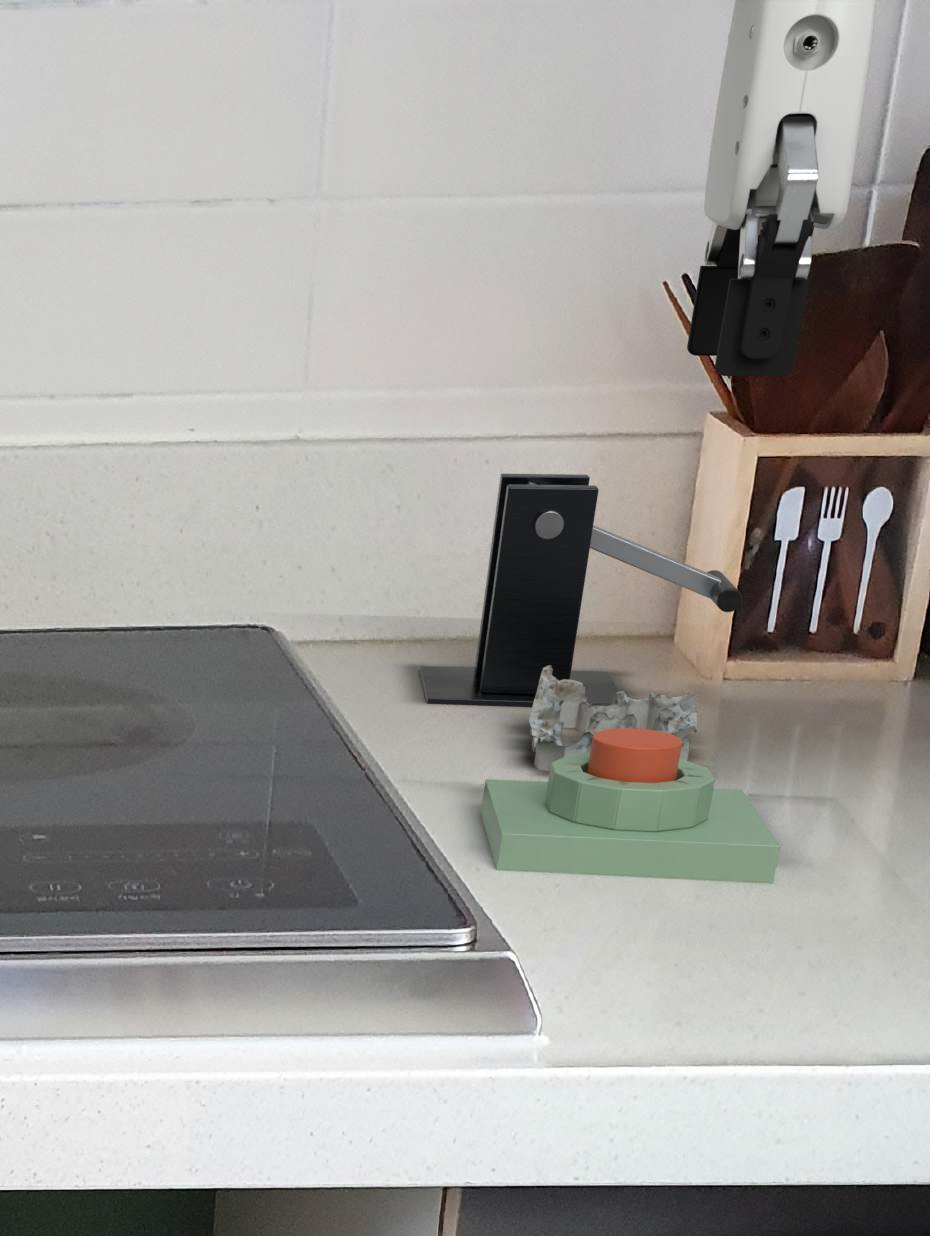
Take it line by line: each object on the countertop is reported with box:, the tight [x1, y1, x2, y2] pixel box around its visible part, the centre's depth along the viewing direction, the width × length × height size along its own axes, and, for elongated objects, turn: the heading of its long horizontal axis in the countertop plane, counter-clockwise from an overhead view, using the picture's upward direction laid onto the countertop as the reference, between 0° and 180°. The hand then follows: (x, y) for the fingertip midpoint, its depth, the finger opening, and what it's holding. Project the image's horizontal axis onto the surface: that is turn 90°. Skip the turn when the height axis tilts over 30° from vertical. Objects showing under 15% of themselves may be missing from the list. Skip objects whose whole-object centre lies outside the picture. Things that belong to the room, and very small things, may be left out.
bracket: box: [419, 473, 620, 708], centre depth 121 cm, size 10×8×12 cm
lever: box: [527, 482, 743, 613], centre depth 119 cm, size 12×6×2 cm, turn 76°
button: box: [587, 728, 682, 783], centre depth 98 cm, size 4×4×2 cm
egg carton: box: [528, 665, 698, 772], centre depth 110 cm, size 11×8×4 cm
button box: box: [480, 753, 781, 884], centre depth 99 cm, size 11×9×4 cm
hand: (736, 364), depth 106 cm, fingers open, 9 cm apart
